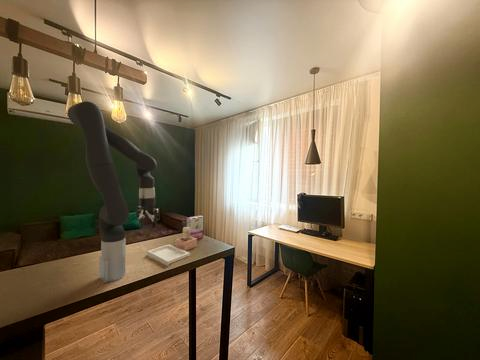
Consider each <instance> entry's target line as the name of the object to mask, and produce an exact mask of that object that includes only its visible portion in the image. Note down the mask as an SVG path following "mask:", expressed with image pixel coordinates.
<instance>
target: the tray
mask: <svg viewBox="0 0 480 360" xmlns="http://www.w3.org/2000/svg"><path fill="white" fill-rule="evenodd" d="M146 253H147V255H146V256H147V257H150V259H151V258H152V259H153V260H155V261H157V262H159V263H161V264H163V265H164V266H166V267H169V266H172V265H171V264H172V263H175V262H177V261H180V260H182V259H184V258H187V257H190V255H191V253H190V252H189V251H187V250H186V251H184V250H182V249H179V248H177V247H175V246H174V245H173V244H166V245H162V246H159V247H156V248H153V249H149V250H147V252H146Z"/></svg>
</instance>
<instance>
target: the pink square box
mask: <svg viewBox="0 0 480 360" xmlns="http://www.w3.org/2000/svg"><path fill="white" fill-rule="evenodd" d="M174 240H175V241H174V243H175V244H174V245H175V246H174V247H177V248H179V249H182V250H184V251H186V252H187V251H189V250H191V249H193V248H197V246H198V239H197V238H194V237H191V236H190V240H188V241H183V236H180V237H178V238H175V239H174Z"/></svg>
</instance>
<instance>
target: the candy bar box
mask: <svg viewBox="0 0 480 360" xmlns="http://www.w3.org/2000/svg"><path fill="white" fill-rule="evenodd" d="M186 227H190V236H191V237H194V238H197V240H199V239H204V216H203V215H195V216H189V217H186Z"/></svg>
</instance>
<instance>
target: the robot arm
mask: <svg viewBox="0 0 480 360" xmlns="http://www.w3.org/2000/svg"><path fill="white" fill-rule="evenodd" d="M66 113H67V118H68V119H69V121H70V122H71V123H72V124H74V125H75V126H76V127H78V128H79V129H81V130H82V133H83V135H84V139H85V163H86V167H87V169H88V173H89V176H90V178H91V181H92V183H93V184H94V185H95V187H96V188H97V190H98V192H99V193H100V195H101V197H102V199H103V202H104V205H103V206H102V207H101V208H100V210H99V215H98V223H99V224H98V225H99V226H98V231H99V235H100V238H101V239H100V241H101V242H100V243H101V244H100V249H101V250H100V254H101V256H99V257H98V258H99V259H98V261H99V264H98V265H99V267H98V268H99V269H98V270H99V271H98V278H99V279H100V280H101V281H102V282H103V283H104V284H105V283H108V282H114V281H115V282H116V281H118V280H120V279H122V278H123V277H125V275H126V252H127V251H126V247H127V246H126V245H127V244H126V241H127V239H126V237H127V234H126V233H127V232H126V231H125V229H124V227H123V225H124V224H126V223H127V221H128V220H129V216H130V211H129V208H128V205H127V203H126V202H127V201H126V200H125V197H124V195H123V192H122V190H121V185H120V182H119V181H120V180H119V177H118V174H117V169H116V165H115V162H114V159H113V158H114V157H113V156H112V151H111V148H112V149H113V150H115V151H116V152H118V154H120V155H121V156H123V157H124V158H125V159H126V160H129V162H134V163H136V164H135V169H136V173H137V178H138V183H139V185H138V186H139V187H138V188H139V189H138V206H136V207H135V218H136V219H138V221H139V222H138V223H139V227H143V226H145V217H148V218H149V219H150V220H151V229H153V230H154V229H156V228H157V226H158V221H159V220H160V219H161V215H160V214H161V212H160V211H161V210H160V208H159V207H158V208H155V206H156V191H155V190H156V189H155V178H154V176H152V175H151V173H150V172H154V171H155V170H156V169H157V167H158V165H157V161H156V160H155V159H154V157H152V156H151V155H149V154H148V153H146V152H144V151H142V150H140V148H139V147H137V146H136V145H135V144H134V143H132V142H131V141H130V140H129V139H127V138H126V137H124V136H122V135H121V134H119V133H118V132H115V131H113V130H111V129H110V128H109V127H107V125H105V120H104V116H103V115H104V114H103V113H102V110H101V109H100V108H99V106H98V105H97V104H95V103H94V102H91V101H88V100H87V101H81V102H78V103H75V104H73V105H71V106H70V107H69V108H68V110H67V112H66ZM110 147H111V148H110Z"/></svg>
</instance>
